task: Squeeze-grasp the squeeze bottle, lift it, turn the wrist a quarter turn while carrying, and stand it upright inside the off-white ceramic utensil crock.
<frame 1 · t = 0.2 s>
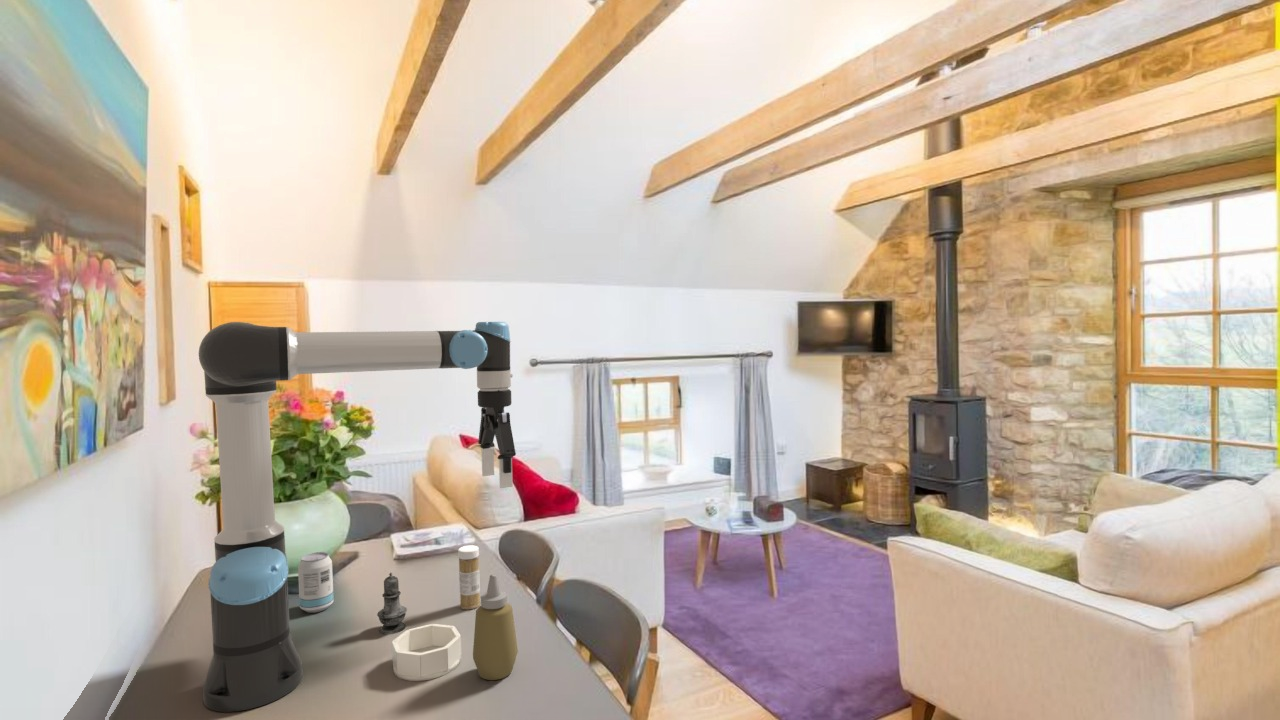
hand: (496, 481, 149), 28 cm above the table, fingers open, 13 cm apart
sprinkles bottle: (470, 606, 147), on the table
squeeze bottle: (496, 673, 118), on the table
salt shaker: (392, 629, 137), on the table
crock: (427, 663, 122), on the table
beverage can: (317, 609, 147), on the table
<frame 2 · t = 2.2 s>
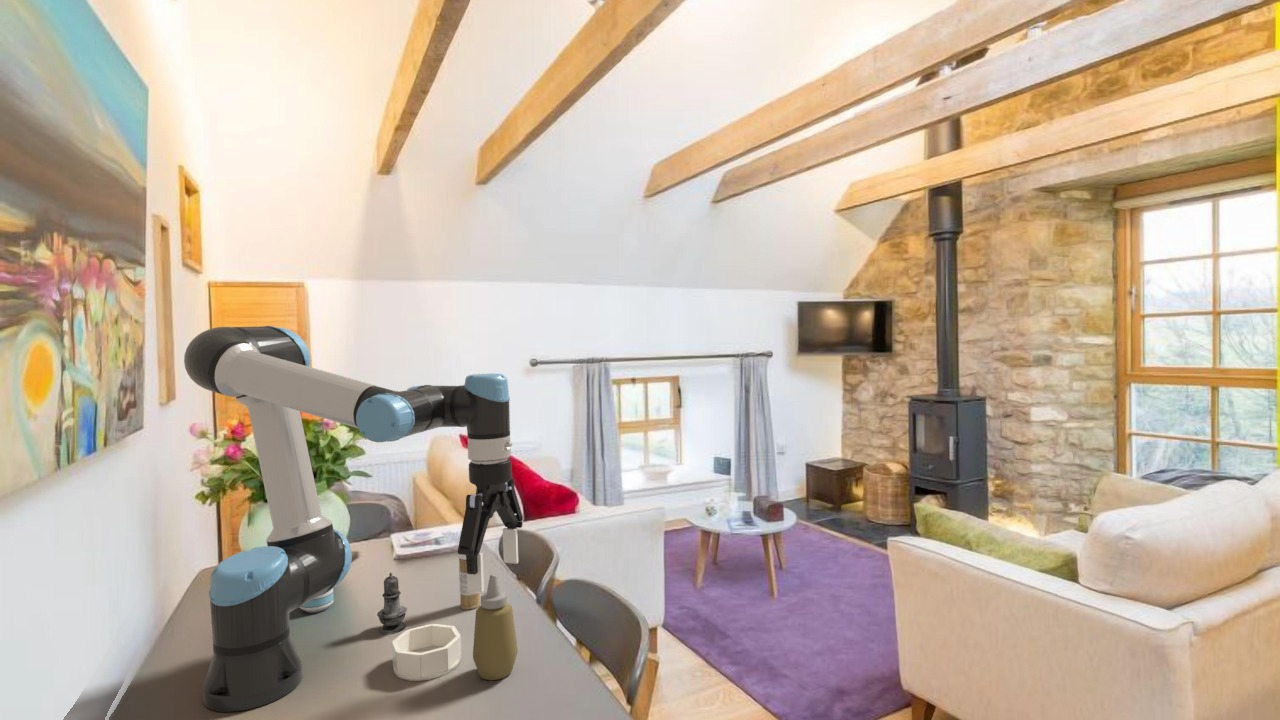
hand: (494, 576, 117), 18 cm above the table, fingers open, 13 cm apart
nothing on the table moved.
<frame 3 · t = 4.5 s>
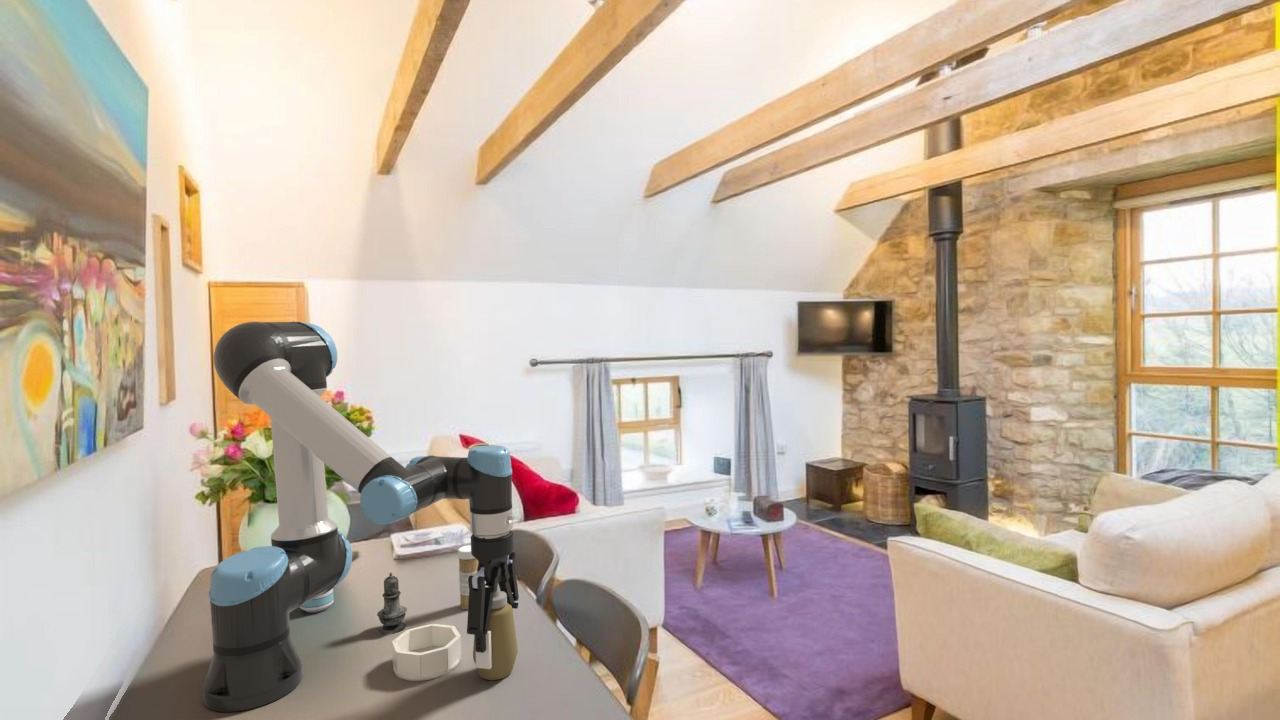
hand: (495, 654, 118), 3 cm above the table, fingers closed on squeeze bottle, 8 cm apart
squeeze bottle: (496, 673, 118), on the table, touching gripper
everything else where it was.
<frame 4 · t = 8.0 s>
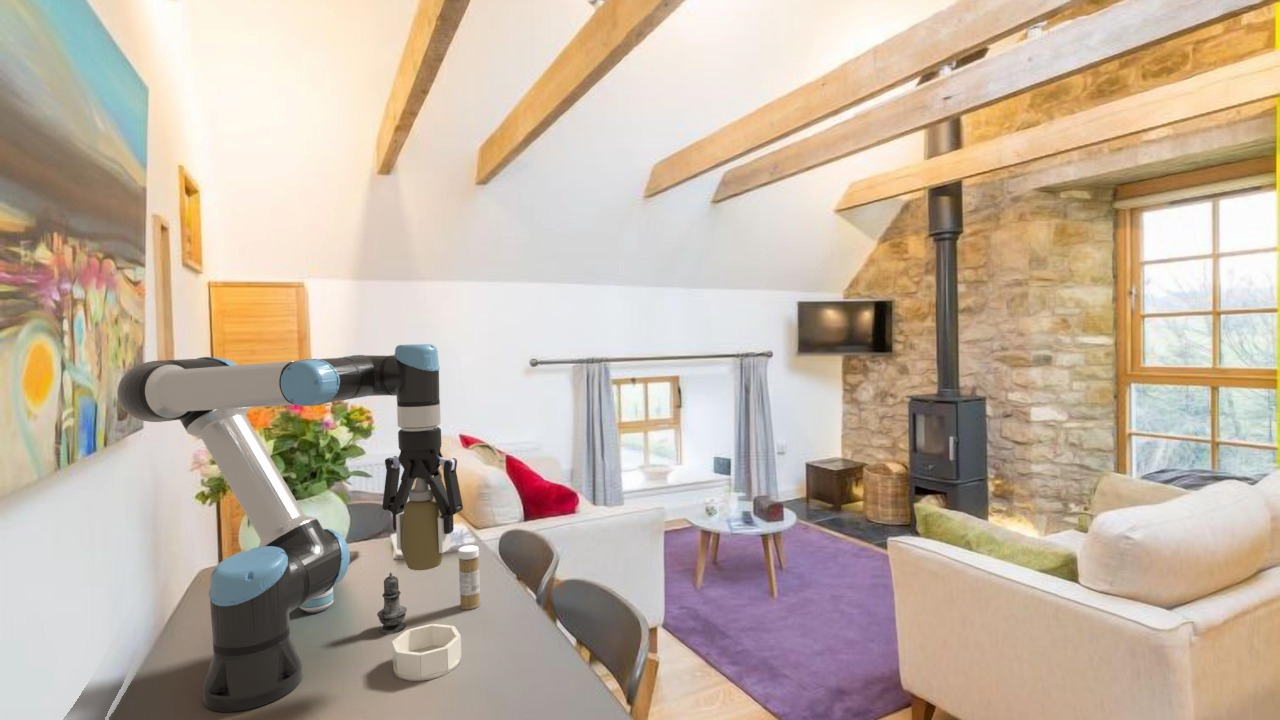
hand: (423, 548, 121), 22 cm above the table, fingers closed on squeeze bottle, 8 cm apart
squeeze bottle: (424, 566, 121), point 19 cm above the table, touching gripper
everything else where it was.
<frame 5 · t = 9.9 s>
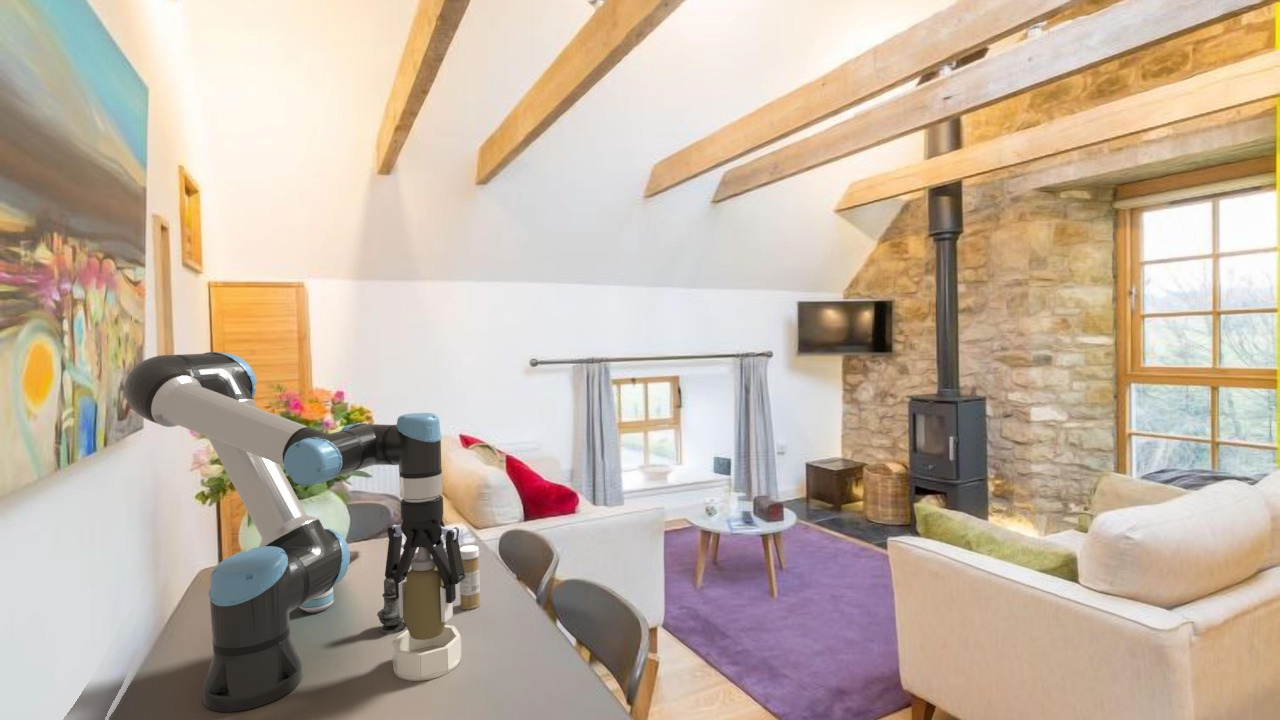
hand: (426, 616, 121), 9 cm above the table, fingers closed on squeeze bottle, 8 cm apart
squeeze bottle: (427, 634, 122), point 6 cm above the table, touching gripper
everything else where it was.
when the fingers open (6 cm above the table, at t = 11.5 s): squeeze bottle drops 2 cm, resting on crock.
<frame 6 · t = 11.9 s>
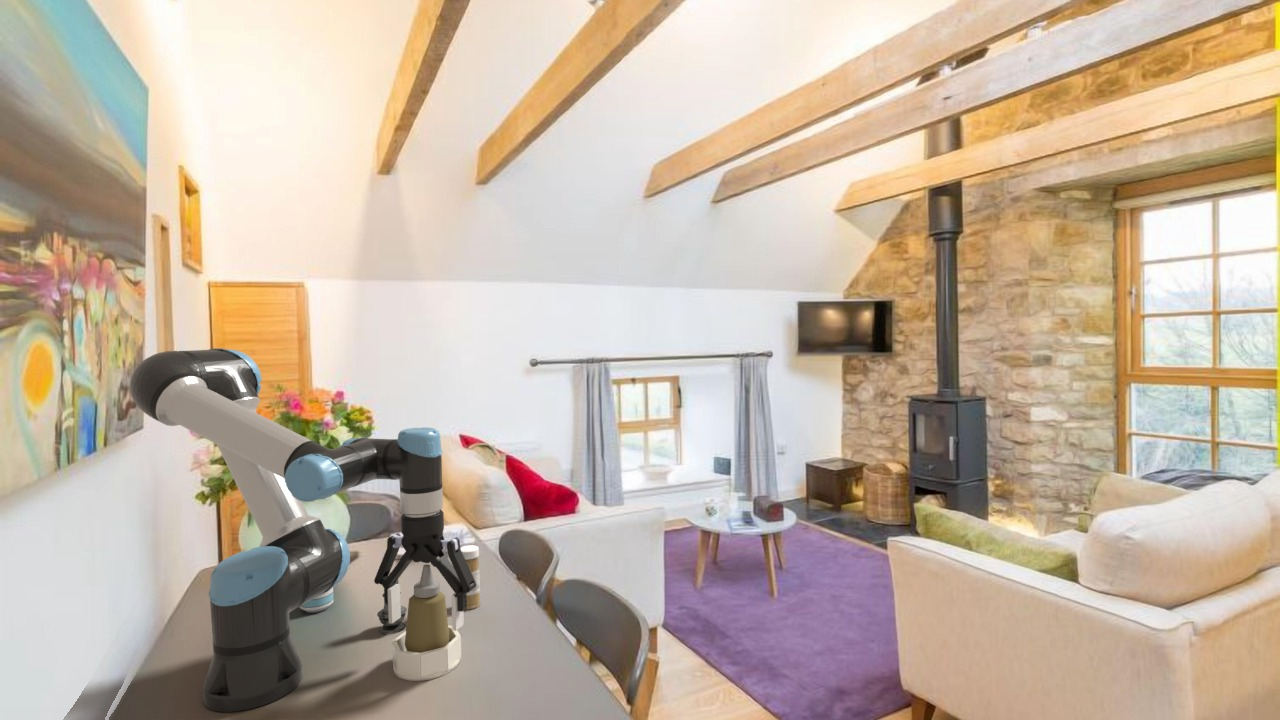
hand: (426, 623, 121), 8 cm above the table, fingers open, 13 cm apart
squeeze bottle: (427, 659, 122), point 1 cm above the table, touching crock
everything else where it was.
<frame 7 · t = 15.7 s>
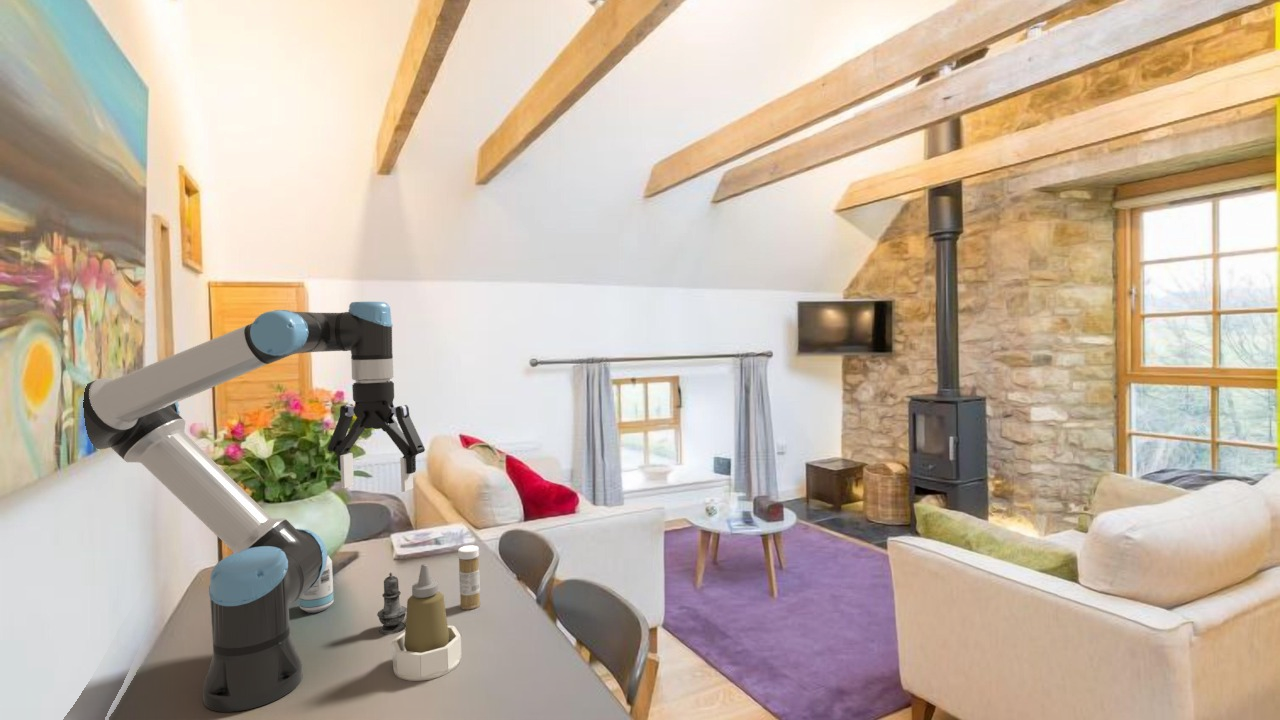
hand: (377, 488, 128), 32 cm above the table, fingers open, 13 cm apart
nothing on the table moved.
at the end: squeeze bottle 0.0 cm off-centre on the crock, point 0.6 cm above the crock's base; squeeze bottle tilted 0°; the gripper is holding nothing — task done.
